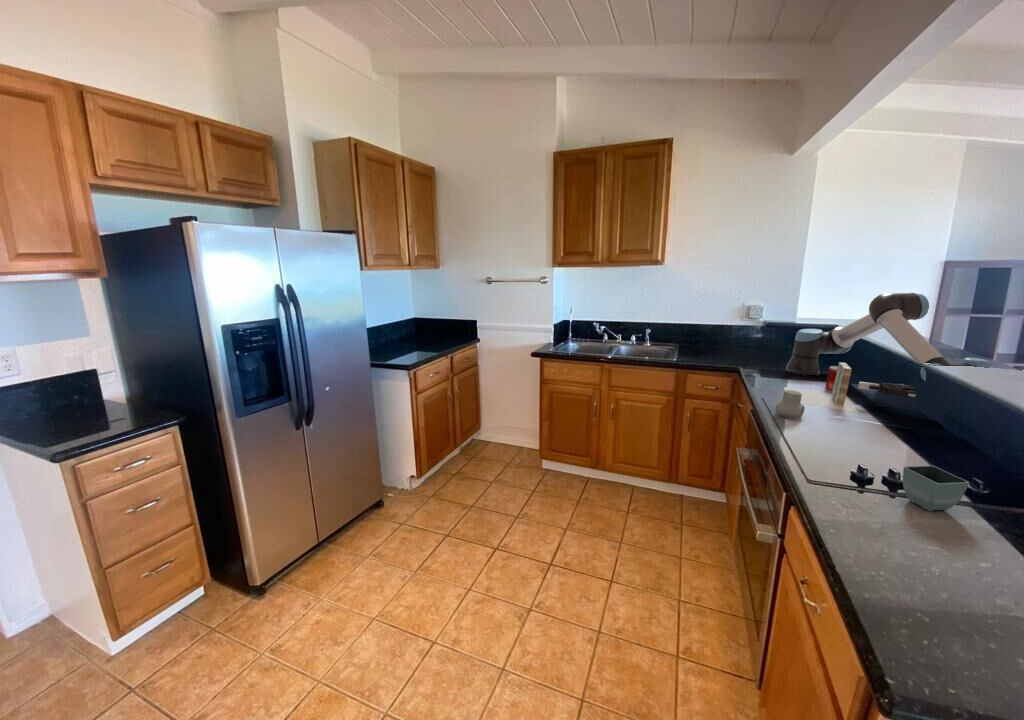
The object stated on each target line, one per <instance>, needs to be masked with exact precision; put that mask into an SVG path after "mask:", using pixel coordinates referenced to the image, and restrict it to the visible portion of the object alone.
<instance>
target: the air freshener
mask: <svg viewBox="0 0 1024 720" xmlns="http://www.w3.org/2000/svg"><path fill="white" fill-rule="evenodd" d="M801 397H802V394H801V393H800V392H797V391H793V390H786V391H785V390H784V391H783V395H782V400H779V401H777V403H776V404H775V408H774V411H775V413H776V414H777V415H778V416H780V417H783V418H785V419H790V418H792V420H798V419H801V418H802V417H803V415H804V413H805V406H804V404H801V403H800V402H801Z"/></svg>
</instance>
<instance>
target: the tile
mask: <svg viewBox="0 0 1024 720" xmlns="http://www.w3.org/2000/svg"><path fill="white" fill-rule="evenodd" d="M851 375H852V367H850V365H848V364H847V363H846V362H838V369H837V373H836V378H835V383H834V387H833V391H831V392H832V398H833V400H834V402H835V403H836V405H840V406H844V402H845V398H846V396H847V393H848V387H849V384H850V378H851Z"/></svg>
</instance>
